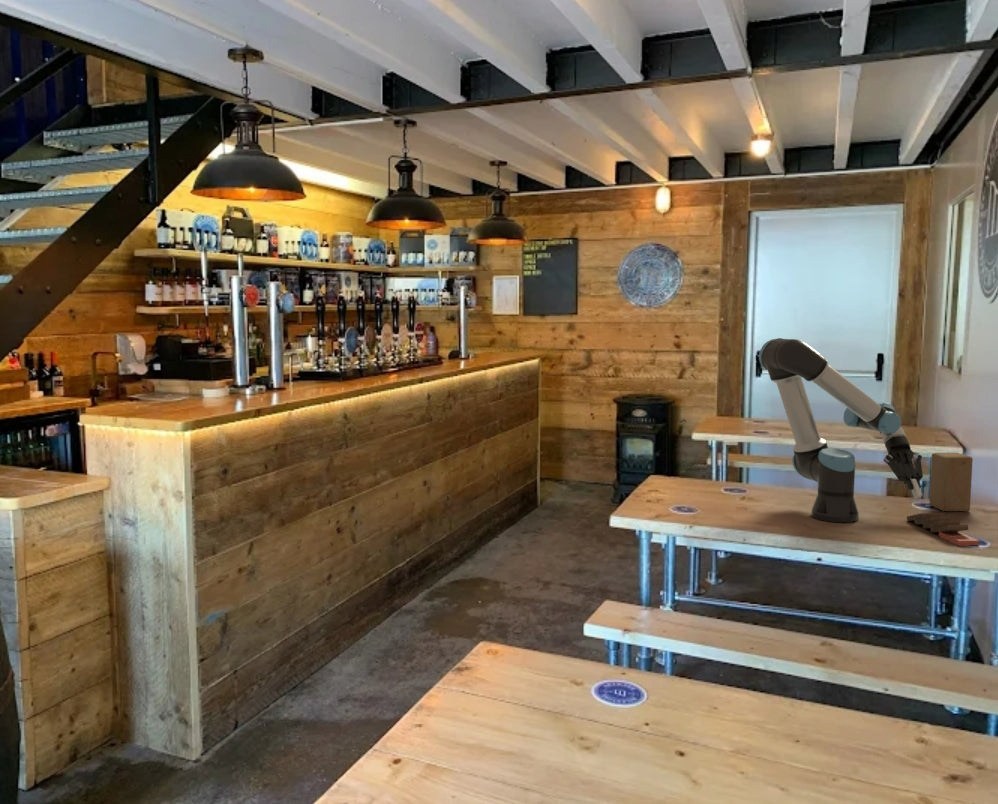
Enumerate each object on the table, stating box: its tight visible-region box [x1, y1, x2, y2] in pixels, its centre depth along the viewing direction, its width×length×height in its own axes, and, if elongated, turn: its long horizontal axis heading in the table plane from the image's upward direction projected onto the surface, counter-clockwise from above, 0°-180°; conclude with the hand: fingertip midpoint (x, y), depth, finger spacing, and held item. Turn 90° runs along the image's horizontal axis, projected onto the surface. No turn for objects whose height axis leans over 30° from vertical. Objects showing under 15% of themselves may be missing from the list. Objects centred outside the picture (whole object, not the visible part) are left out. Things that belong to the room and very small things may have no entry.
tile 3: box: [922, 519, 961, 530], centre depth 254 cm, size 2×6×11 cm
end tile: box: [938, 531, 980, 547], centre depth 244 cm, size 2×6×11 cm
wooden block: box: [929, 452, 974, 512], centre depth 284 cm, size 10×10×20 cm
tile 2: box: [913, 516, 952, 526], centre depth 259 cm, size 2×6×11 cm
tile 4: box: [930, 524, 970, 534], centre depth 249 cm, size 2×6×11 cm
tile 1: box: [906, 512, 943, 522], centre depth 264 cm, size 2×6×11 cm
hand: (918, 497), depth 267 cm, fingers closed
